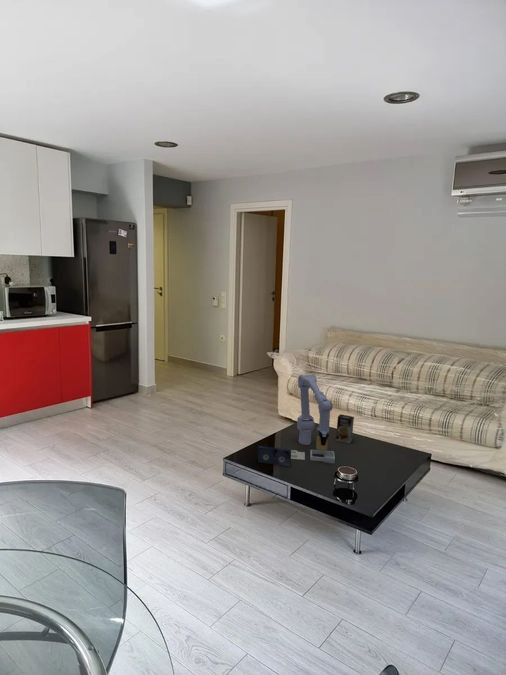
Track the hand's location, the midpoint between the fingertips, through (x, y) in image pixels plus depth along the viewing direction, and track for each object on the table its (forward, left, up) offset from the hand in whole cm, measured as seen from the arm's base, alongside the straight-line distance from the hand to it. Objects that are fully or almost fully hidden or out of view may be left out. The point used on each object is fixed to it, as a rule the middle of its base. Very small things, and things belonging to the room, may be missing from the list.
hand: (323, 444), depth 259 cm
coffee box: (-30, +15, -9) cm, 35 cm away
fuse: (0, -1, -3) cm, 3 cm away
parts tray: (0, 0, -9) cm, 9 cm away
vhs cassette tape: (+13, -27, -9) cm, 31 cm away
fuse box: (0, -19, -9) cm, 21 cm away
